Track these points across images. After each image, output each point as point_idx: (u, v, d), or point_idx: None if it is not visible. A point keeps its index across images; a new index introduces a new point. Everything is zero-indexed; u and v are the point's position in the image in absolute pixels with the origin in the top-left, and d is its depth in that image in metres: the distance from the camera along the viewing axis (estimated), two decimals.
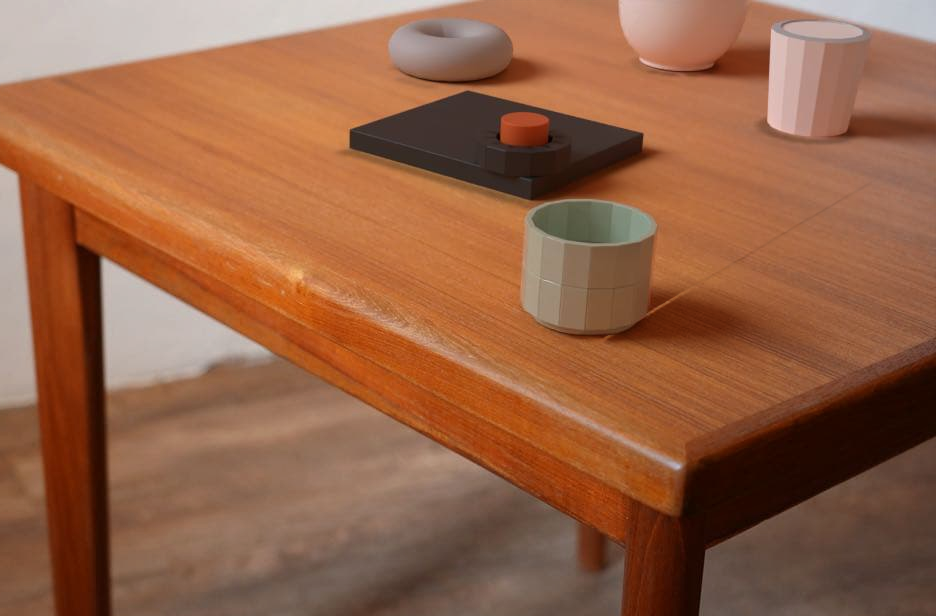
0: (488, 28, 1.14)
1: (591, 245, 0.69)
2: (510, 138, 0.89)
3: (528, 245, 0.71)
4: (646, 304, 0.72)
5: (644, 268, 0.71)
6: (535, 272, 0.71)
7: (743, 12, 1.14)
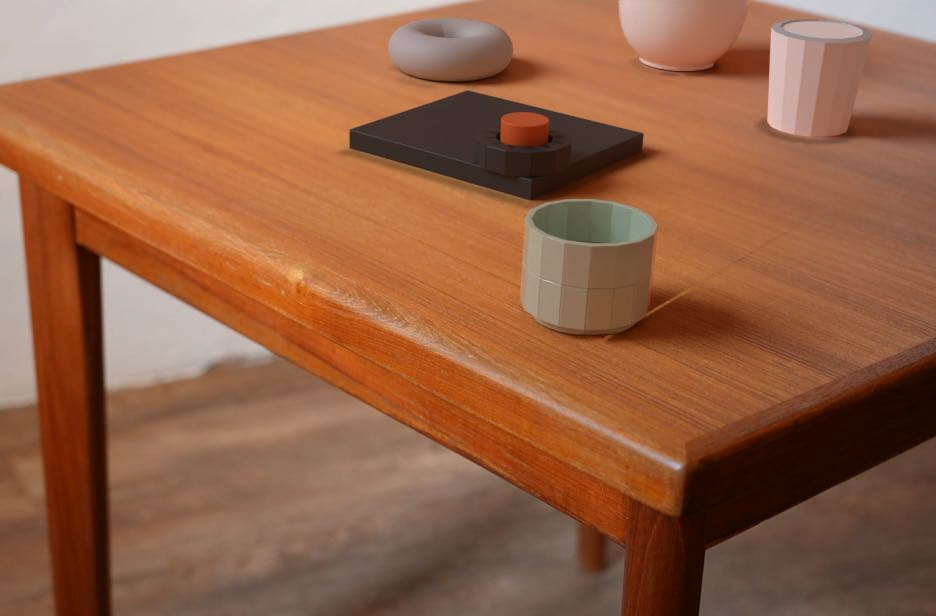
0: (488, 28, 1.14)
1: (591, 245, 0.69)
2: (510, 138, 0.89)
3: (528, 245, 0.71)
4: (646, 304, 0.72)
5: (644, 268, 0.71)
6: (535, 272, 0.71)
7: (743, 12, 1.14)
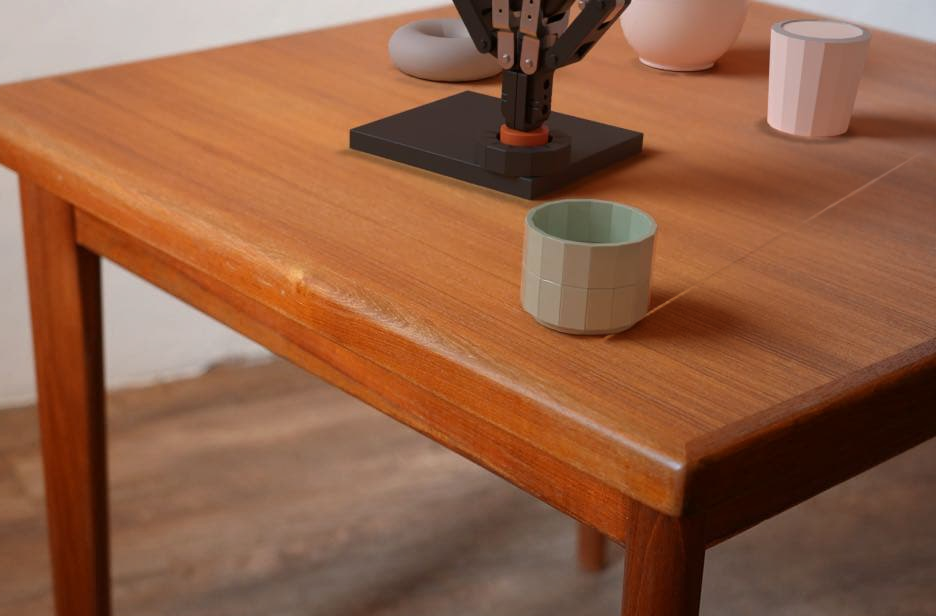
0: None
1: (591, 245, 0.69)
2: None
3: (528, 245, 0.71)
4: (646, 304, 0.72)
5: (644, 268, 0.71)
6: (535, 272, 0.71)
7: (743, 12, 1.14)
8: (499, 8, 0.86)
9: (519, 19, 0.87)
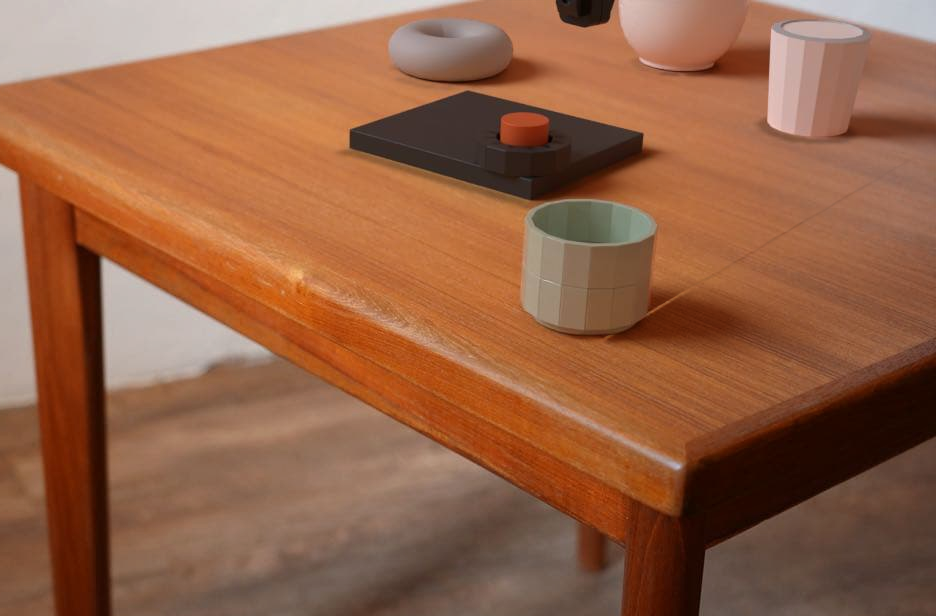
0: (488, 28, 1.14)
1: (591, 245, 0.69)
2: (510, 138, 0.89)
3: (528, 245, 0.71)
4: (646, 304, 0.72)
5: (644, 268, 0.71)
6: (535, 272, 0.71)
7: (743, 12, 1.14)
8: None
9: None
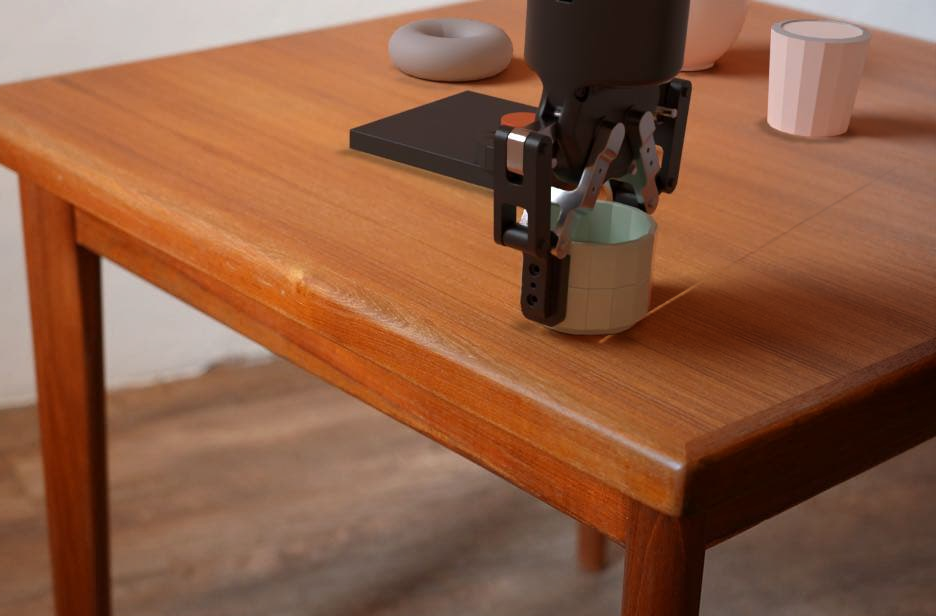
0: (488, 28, 1.14)
1: (591, 245, 0.69)
2: None
3: None
4: (646, 304, 0.72)
5: (644, 268, 0.71)
6: None
7: (743, 12, 1.14)
8: (594, 186, 0.68)
9: None
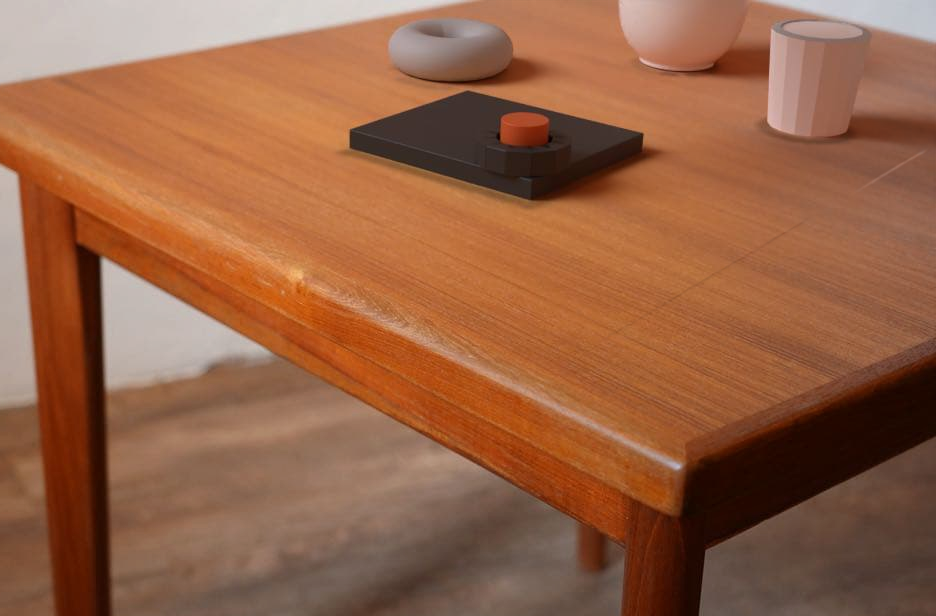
0: (488, 28, 1.14)
1: None
2: (510, 138, 0.89)
3: None
4: None
5: None
6: None
7: (743, 12, 1.14)
8: None
9: None
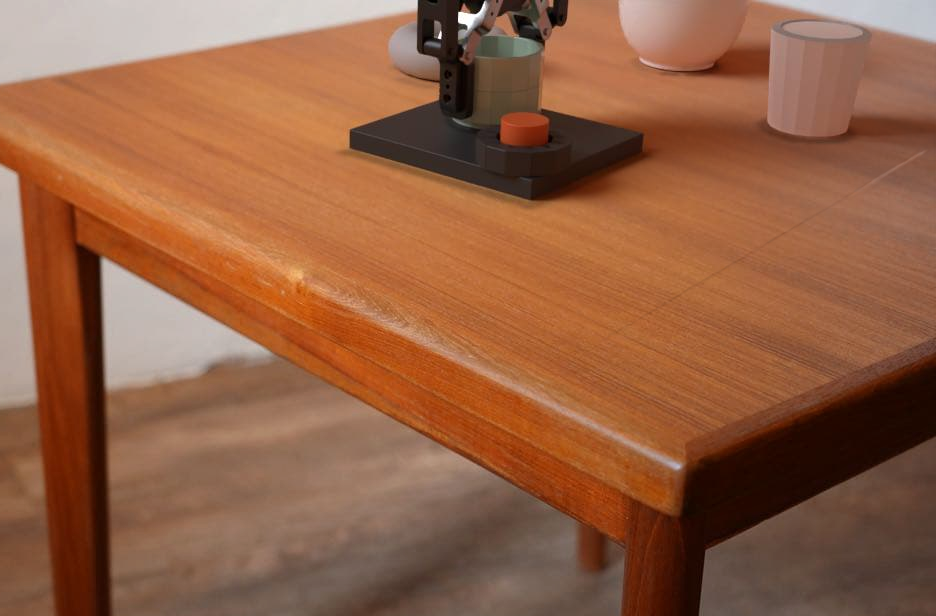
0: None
1: (493, 58, 0.94)
2: (510, 138, 0.89)
3: None
4: (537, 108, 0.97)
5: (534, 78, 0.96)
6: None
7: (743, 12, 1.14)
8: (492, 11, 0.93)
9: None
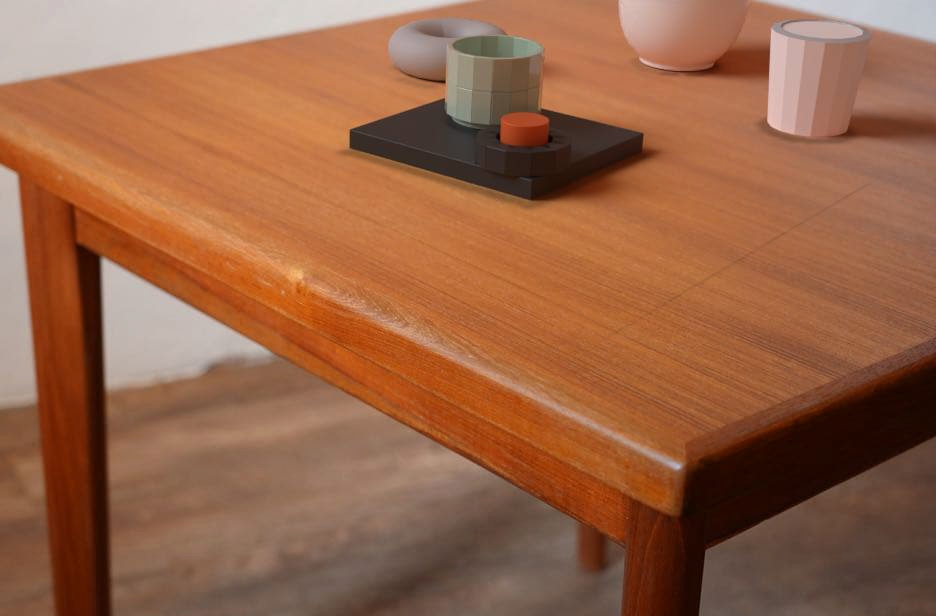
0: (488, 28, 1.14)
1: (493, 58, 0.94)
2: (510, 138, 0.89)
3: (449, 63, 0.97)
4: (537, 108, 0.97)
5: (534, 78, 0.96)
6: (454, 83, 0.97)
7: (743, 12, 1.14)
8: None
9: None
